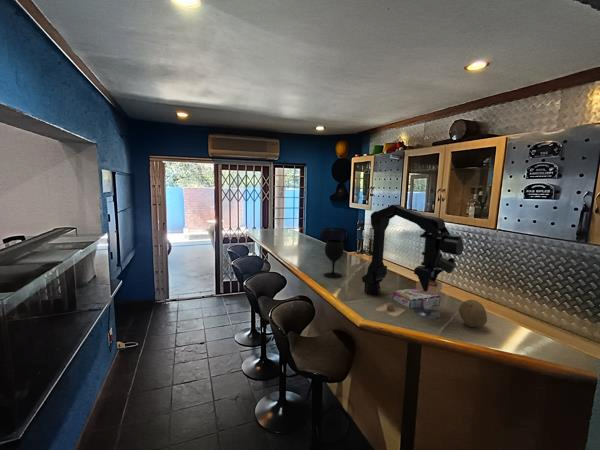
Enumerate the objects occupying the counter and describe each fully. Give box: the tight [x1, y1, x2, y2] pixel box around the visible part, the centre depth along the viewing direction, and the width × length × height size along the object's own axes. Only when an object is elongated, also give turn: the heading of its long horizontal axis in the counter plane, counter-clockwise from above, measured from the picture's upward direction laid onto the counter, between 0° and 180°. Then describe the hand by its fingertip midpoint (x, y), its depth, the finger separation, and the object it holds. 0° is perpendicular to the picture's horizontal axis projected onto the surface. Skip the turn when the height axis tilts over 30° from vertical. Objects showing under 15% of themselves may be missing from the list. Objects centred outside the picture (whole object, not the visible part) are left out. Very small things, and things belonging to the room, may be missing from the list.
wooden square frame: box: [415, 279, 443, 295], centre depth 115 cm, size 7×7×3 cm
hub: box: [413, 299, 442, 320], centre depth 116 cm, size 10×10×7 cm
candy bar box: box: [392, 287, 442, 310], centre depth 129 cm, size 11×5×16 cm
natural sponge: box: [458, 299, 488, 328], centre depth 109 cm, size 9×9×10 cm
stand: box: [374, 302, 406, 317], centre depth 119 cm, size 9×9×3 cm
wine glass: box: [323, 239, 344, 279], centre depth 165 cm, size 10×10×20 cm
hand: (428, 288), depth 115 cm, fingers closed on wooden square frame, 7 cm apart
